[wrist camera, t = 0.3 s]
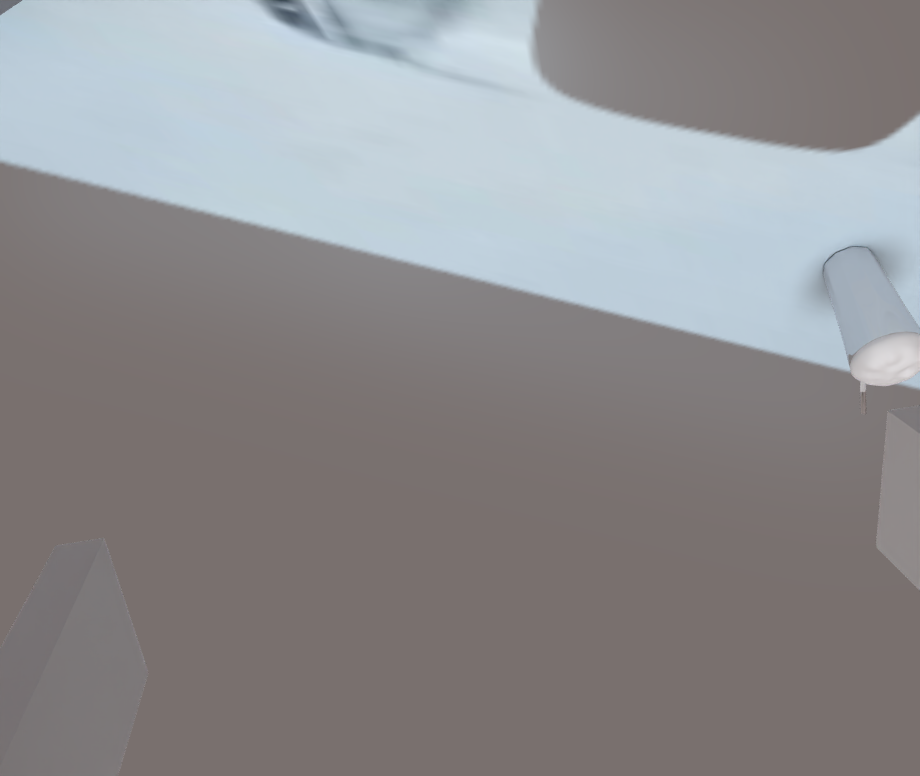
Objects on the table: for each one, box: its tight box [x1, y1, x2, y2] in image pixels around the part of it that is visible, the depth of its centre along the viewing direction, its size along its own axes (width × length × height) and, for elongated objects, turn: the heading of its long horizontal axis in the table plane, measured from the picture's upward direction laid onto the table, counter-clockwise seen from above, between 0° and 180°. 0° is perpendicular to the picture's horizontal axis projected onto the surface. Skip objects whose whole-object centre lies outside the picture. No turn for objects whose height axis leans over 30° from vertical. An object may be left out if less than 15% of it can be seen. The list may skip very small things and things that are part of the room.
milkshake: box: [823, 247, 920, 414], centre depth 55 cm, size 4×5×10 cm
